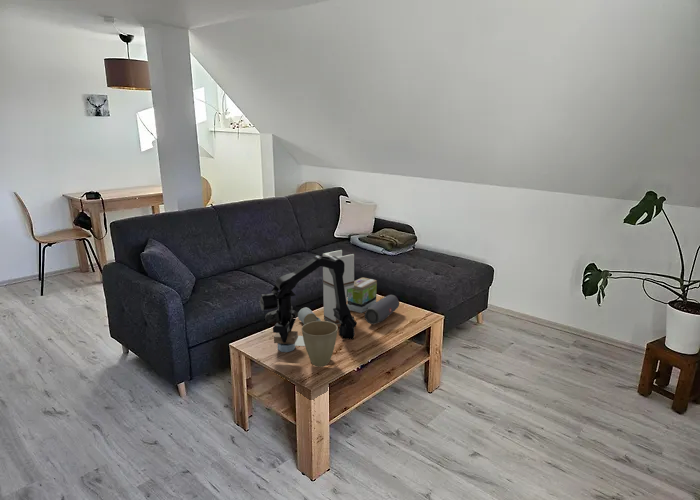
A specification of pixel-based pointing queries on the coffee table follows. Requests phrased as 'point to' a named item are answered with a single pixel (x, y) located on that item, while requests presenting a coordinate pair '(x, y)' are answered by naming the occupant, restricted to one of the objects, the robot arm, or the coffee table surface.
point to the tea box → (362, 295)
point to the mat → (299, 341)
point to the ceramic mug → (307, 316)
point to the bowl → (286, 347)
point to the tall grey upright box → (329, 285)
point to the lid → (290, 339)
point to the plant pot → (319, 341)
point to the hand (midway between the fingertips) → (286, 339)
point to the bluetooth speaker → (381, 309)
